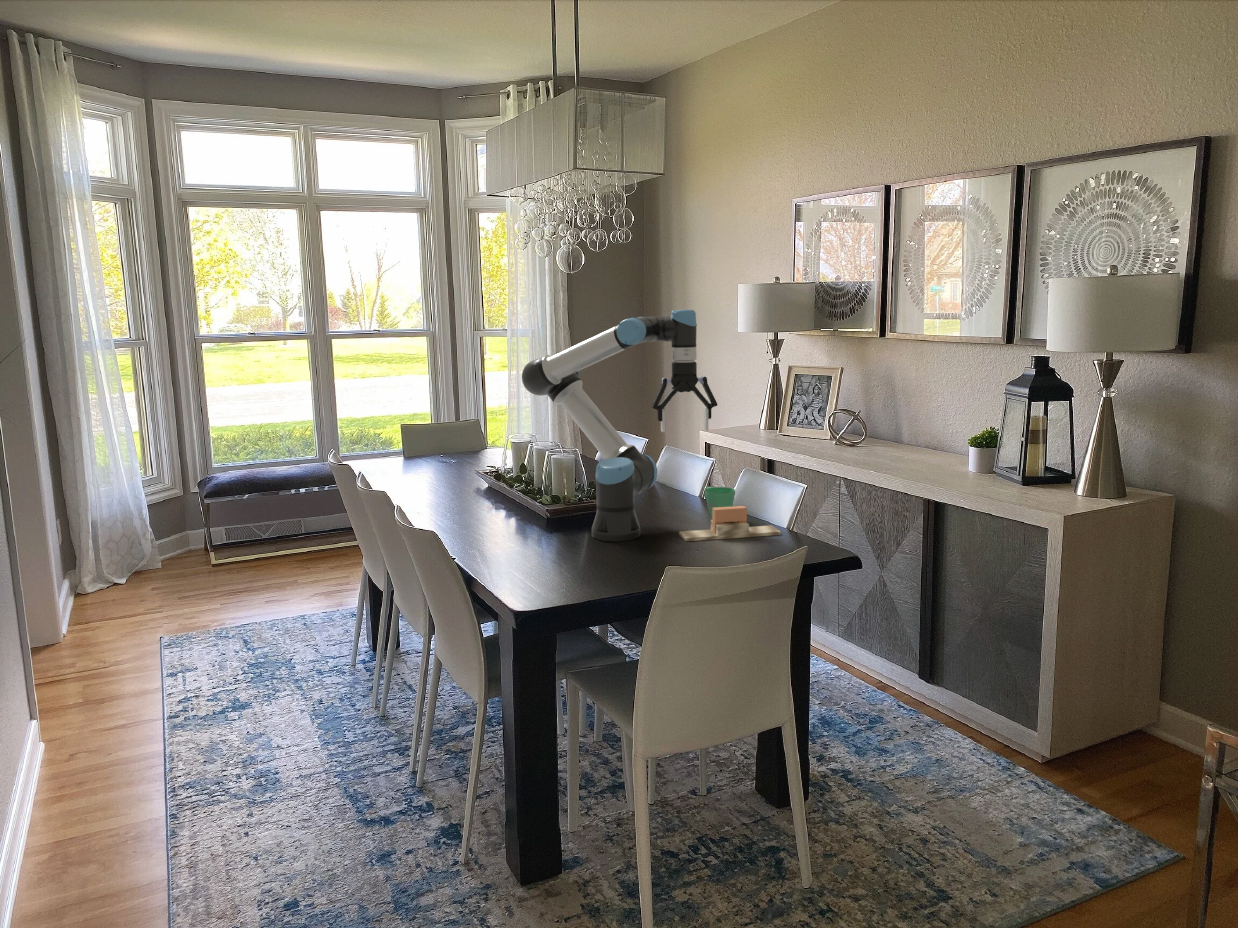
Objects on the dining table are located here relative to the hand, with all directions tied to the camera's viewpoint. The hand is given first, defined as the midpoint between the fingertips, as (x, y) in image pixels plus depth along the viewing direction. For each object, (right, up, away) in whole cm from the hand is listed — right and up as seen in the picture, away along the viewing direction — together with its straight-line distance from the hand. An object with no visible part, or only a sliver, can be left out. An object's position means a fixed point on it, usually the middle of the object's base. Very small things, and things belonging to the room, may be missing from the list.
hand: (684, 430), depth 283 cm
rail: (+14, -32, 0) cm, 35 cm away
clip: (+14, -31, 0) cm, 34 cm away
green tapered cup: (+12, -28, +21) cm, 37 cm away
